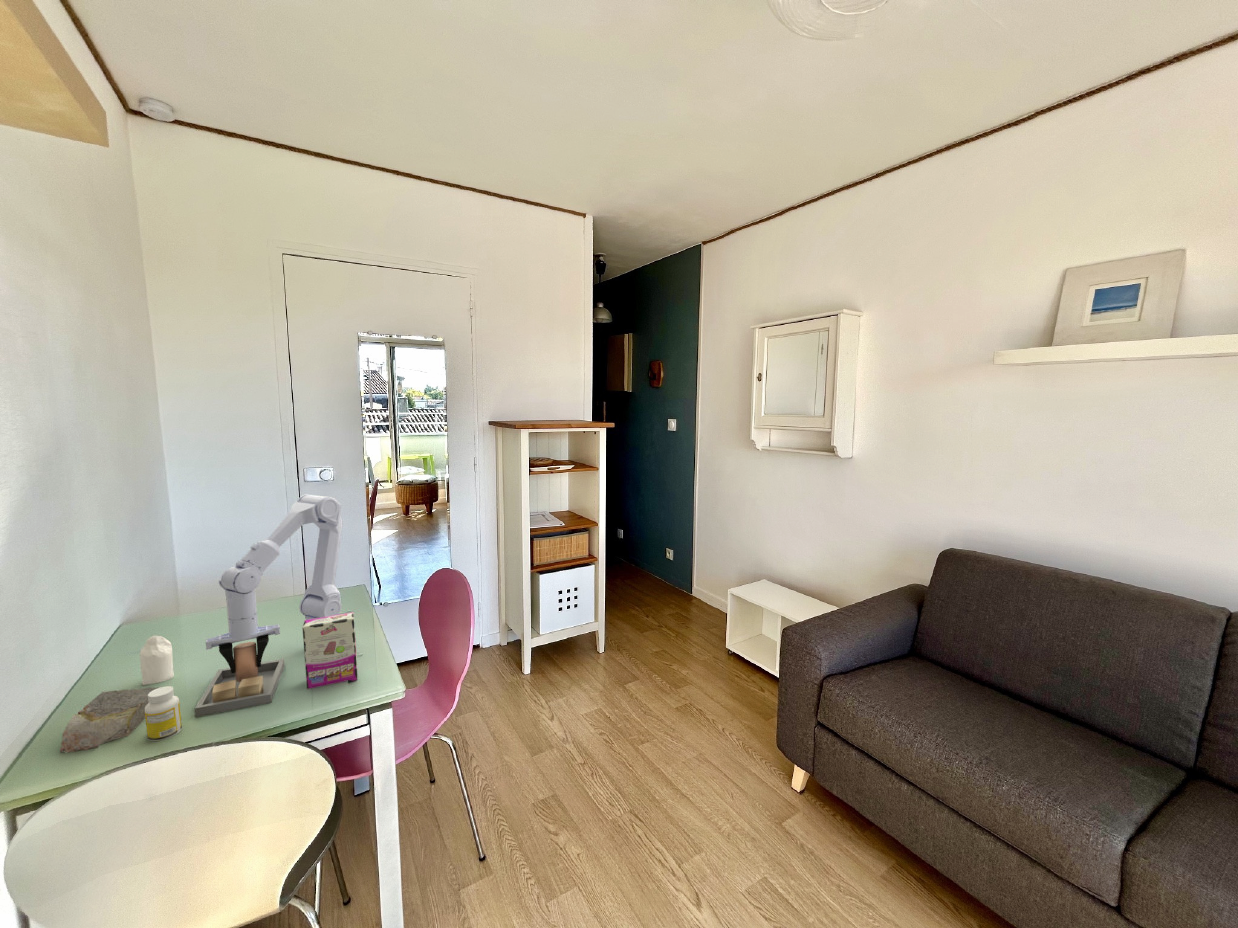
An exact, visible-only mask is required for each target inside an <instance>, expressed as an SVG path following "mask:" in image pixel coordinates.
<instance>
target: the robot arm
mask: <svg viewBox="0 0 1238 928" xmlns="http://www.w3.org/2000/svg"><path fill="white" fill-rule="evenodd" d="M341 509H342V504H341V503H340V502H339V501H338V500H337V499H336V498H335V497H333V496H325V495H323V496H322V495H315V494H310V493H305V494H303V495H301V496H300V497H299V498H298V499H297V501H295V502H294V503H292V504H291V508H290V510H289V513H288V514H287V515H286V516H285V518H283V520H281V522H280V523H279V524H278V526H277V527H276V528H275V529H274V530H273V531H272V533H271V534H270V535H269V536H268V538H266V539H265V540H259V541H257V542H256V543H253V544H252V545H251V546H250V550H249V551H248V552H247V553H246V554H244V556H243V557H242V558H241V559H240V560H238V561H237V562H236V563H235V566H232V567H229V568H227V569H226V570H225V571H224V572H223V574H222V575H221V577H220V580H218V584H219V586H220V588H222V589H223V590H224V593H225V597H226V598H225V600H226V602H225V603H226V612H227V623H228V624H227V625H228V632H225V633H224V634H220V635H217V636H213V637H210V638H205V650H211V649H213V648H216V647H218V652H219V654H220V655H221V656H222V657H223V658H224V659H225V661H226V663H227V664H228V668H230V669H231V673H235V666H234V655H233V648H234V646H233V644H235V643H239V642H240V643H241V642H244V641H249V640H254V639H255V640H256V648H257V667H261V663H262V659H263V656H264V652H265V650H266V648H267V646H268V644H269V641H270V639H269V636H272V635H274V636H277V635H280V634H281V629H280V624H279V623H278V624H272V625H263V626H259V624H258V613H257V612H258V611H257V598H256V588H258V586H259V585H260V583H261V577H262V576H263V574H264V572H265V571H266V570H267V569H268V568H269V567H270V565H271V564H272V563H273V562H274V561H275V560H276V558H278V557H279V556H280V548H281V546H283V544H285V543H286V541H288V540H289V539H290V538H291V537H292V536H293V535H294V534H296V532H297V531H298V530H299V529H300V528H301V527H302V526H303V525H308V524H314V525H315V526H316V527H317V528H318V529H319V532H318V538H317V539H318V540H317V547H316V553H315V560H314V567H313V574H312V582H311V585H309V586H308V587H307V588H306V589H305V590H304V593H303V597H302V599H301V600H300V604H299V611H300V613H301V614H302V615H303V616H304V619H305V620H309V619H315V618H321V617H327V616H333V615H339V614H341V611H342V601H341V592H340V591H339V589H338V588H337V587H336V585H335V582H336V574H337V567H338V559H339V554H340V545H341V537H342V532H343V531H342V530H343V526H344V525H343V524H344V523H343V519H342V515H341ZM305 620H304V621H305Z"/></svg>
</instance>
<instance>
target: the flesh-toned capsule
mask: <svg viewBox="0 0 1238 928" xmlns="http://www.w3.org/2000/svg"><path fill="white" fill-rule="evenodd" d="M233 658H234V666H235V680H236V681H237V682H241V681H242V679H247V678H253V677H257V676H258V667H257V642H255V641H248V642H247V641H246V642H243V643H239V644H236V645H235V646H233Z"/></svg>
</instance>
